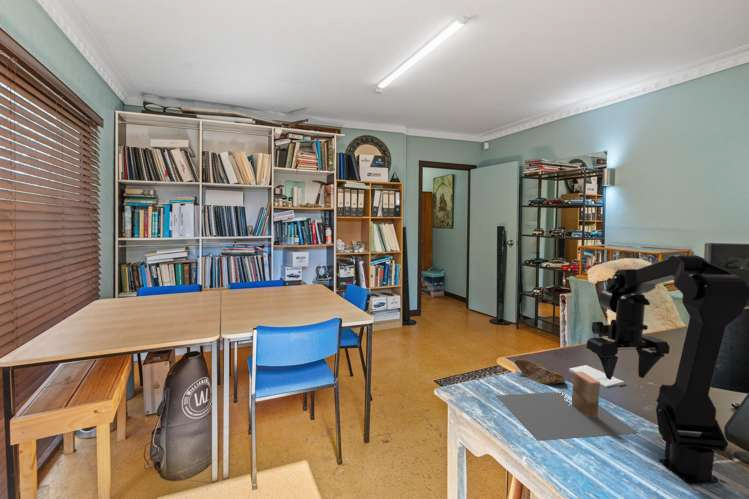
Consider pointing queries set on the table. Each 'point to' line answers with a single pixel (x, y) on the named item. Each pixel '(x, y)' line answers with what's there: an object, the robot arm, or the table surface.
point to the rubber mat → (560, 417)
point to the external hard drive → (597, 376)
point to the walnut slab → (585, 394)
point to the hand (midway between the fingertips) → (624, 378)
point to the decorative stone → (538, 372)
